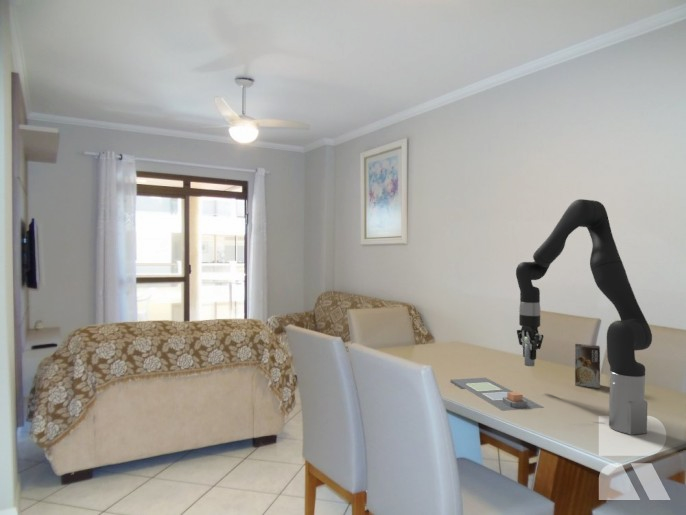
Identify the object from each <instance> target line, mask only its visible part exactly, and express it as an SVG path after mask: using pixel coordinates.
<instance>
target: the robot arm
mask: <svg viewBox="0 0 686 515" xmlns="http://www.w3.org/2000/svg"><path fill="white" fill-rule="evenodd" d="M579 227H581V228H586V229H587V230H588V233H589V236H590V238H591V239H590V240H591V242H592V243H591V244H592V247H591V248H592V249H591V253H590V258H589V265H590V266H589V267H590V270H591V274H592V276H593V279H594V282H595V285H596V286H597V288H598V289H599V290H600V292H601V293H602V294H603V295H604V297H606V298H607V299H608V300H609V302H611V303H612V305H613V306H614V308H615V310H616V312H617V313H618V315H619V318H620V320H617V321H613V322H612V323H610V324H609V326H608V328H607V330H606V352H607V353H606V354H607V356H606V357H607V362H608V364H609V365H608V366H609V400H608V401H609V403H608V404H609V409H608V410H609V411H608V426H609V428H611V429H612V430H614V431H616V432H620V433H624V434H628V435H630V436H632V435H640V434H647V433H648V403H649V402H647V401H646V400H645V399H646V397H645V396H646V395H645V394H646V389H645V388H646V367H645V365H644V364H643V363H641V362H638V361H637V360H636V354H635V352H636V351H643V350H646V349H648V348H650V347H651V345H652V343H653V334H652V330H651V328H650V326H649V323H648V321H647V319H646V318H645V315H644V313H643V312H642V309H641V307H640V305H639V302H638V301H637V298H636V296H635V294H634V291H633V288H632V286H631V283H630V281H629V280H630V279H629V277H628V275H627V272H626V268H625V266H624V263H623V261H622V258H621V255H620V254H619V251H618V248H617V244H616V242H615V239H614V236H613V232H612V228H611V224H610V220H609V217H608V213H607V209H606V207H605V206H604V204H603V203H602V202H600V201H598V200H592V199H581V198H579V199H576V200H574V201H573V202H571V203H570V205H569V206H568V207H567V209H566V210H565V211H564V213H563V214H562V216H561V218H560V219H559V221H558V222H557V224H556V225H555V226H554V229H552V231H551V233H550V234H549V236H548V237H547V238H546V239H545V241H544V242H543V243H542V244H541V245H540V246H539V247H538V248H537V249H536V251H535V252H534V253H533V256H532V258H533V261H524V262H523V261H522V262H520V263H519V264H518V265H517V267H516V270H515V275H516V276H515V277H516V280H517V284H518V287H519V293H520V294H519V296H520V297H519V298H520V299H519V300H520V302H519V307H518V309H519V311H518V312H519V316H518V318H519V320H518V322H519V326H521V329H517V330H516V335H517V339H518V344H519V345H520V346H521V347H522V353H523V354H522V357H523V358H525V343H524V336H526V337H527V338H528V343H529V345H530V359H531V360H537V350H541V347H542V345H543V344H542V343H543V340H544V335H543V334H540V333H539V327H541V305H540V304H541V296H540V295H541V294H540V293H541V292H540V291H541V290H540V288H539V287H537V286H534V285H533V281H538V280H540V279H542V278H543V277H544V276H545V275H546V274H547V272H548V271H549V270H548V269H549V268H550V267H551V264H552V263H553V262H554V261H555V260H556V259H557V258H558V257H559V256H560V255H561V254H562V252H563V251H564V249H565V247H566V242H567V240H568V237H569V236H570V234H572V233H573V232H574V231H575V230H576V229H579ZM531 340H535V341H533V342H532V341H531ZM533 343H534V345H532V344H533Z"/></svg>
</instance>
